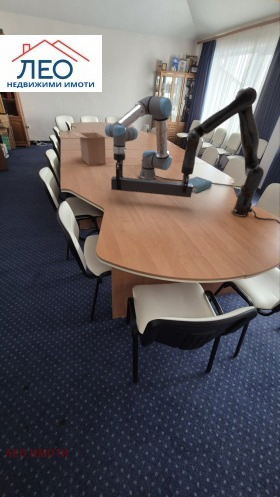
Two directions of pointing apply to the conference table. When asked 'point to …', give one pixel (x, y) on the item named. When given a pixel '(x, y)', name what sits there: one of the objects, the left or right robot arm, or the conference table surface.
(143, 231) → the conference table surface
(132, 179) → the bar
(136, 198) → the conference table surface
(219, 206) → the conference table surface
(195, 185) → the book
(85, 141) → the box
